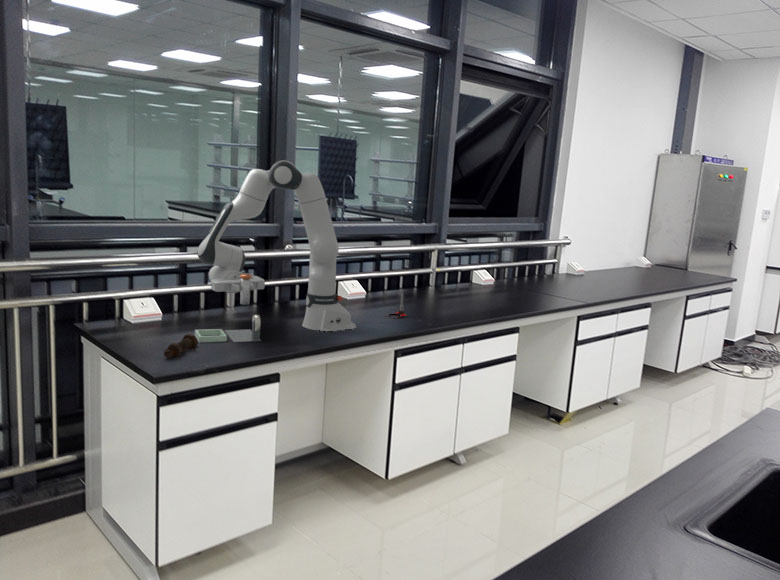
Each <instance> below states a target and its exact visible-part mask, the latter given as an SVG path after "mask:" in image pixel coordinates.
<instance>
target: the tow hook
mask: <svg viewBox="0 0 780 580" xmlns="http://www.w3.org/2000/svg"><path fill="white" fill-rule="evenodd" d="M395 313H397V314H401V315H400V316H408V315H407V314H406V313H405V311H404V289H403V288H402V289H401V293H400V305H399V310H398V311H396V312H395Z"/></svg>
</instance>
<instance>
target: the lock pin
mask: <svg viewBox="0 0 780 580" xmlns="http://www.w3.org/2000/svg"><path fill="white" fill-rule="evenodd" d="M240 278H241V286H242V291H240V299H239V301H240V302H239V304H240V305H244V306H245V305H247V306H248V305H250V302H251V301H250V300H251V299H250V297H251V290H250V278H251V275H250V274H241V275H240Z"/></svg>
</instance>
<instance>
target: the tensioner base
mask: <svg viewBox="0 0 780 580" xmlns="http://www.w3.org/2000/svg"><path fill="white" fill-rule="evenodd" d="M251 323H252V325H251V329H250V328H249V329H228V330H225V329H224V330H223V332H224V333H225V334H226V335H227V337H229V338H230V340H232V342H233V343H238V342H240V343H242V342H259V341H260V342H261V341H262V340H261V338H260V337H261V326H262V325H261V324H262V323H261V316H260V315H259V314H253V315H252V320H251Z"/></svg>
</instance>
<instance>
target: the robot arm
mask: <svg viewBox="0 0 780 580" xmlns="http://www.w3.org/2000/svg"><path fill="white" fill-rule="evenodd" d="M276 188H278V189H280V190H293V191H294V193H295V194H296V198H297V201H298V202H297V203H298V205H299V209H300V213H301V217H302V222H303V224H304V228H305V232H306V236H307V240H308V244H309V248H310V250H309V267H308V268H309V269H308V270H309V271H308V283H307V284H308V285H307V286H308V288H307V292H306V297H305V298H306V299H305V306H306V308H305V315H304V317H303V318H304V319H303V321H302V324H301V326H302V327H303V328H305V329H307V330H312V331H319V330H320V332H323V331H326V332H325V333H328V332H327V331H333V332H338V331H337V330H342V331H346V330H345V329H352V330H354V329H353V328H356V329H357V325H356V324H355V323H354V322H352V317H351V313H350V312H349V311H348V310H347V309H346V308H345V307H344V306H343V305H342V304H340V302H342V301H343V300H344V299H343V296H342V295H337V294H336V280H337V257H338V254H339V244H338V240H337V235H336V232H335V227H334V224H333V220H332V218H331V217H332V216H331V214H330V213H331V212H330V208H329V205H328V201H327V197H326V195H325V190H324V188H323V186H322V183H321V180H320V178H319V176H318V175H317V174H316V173H314V172H304V173H303V172H301V171H299V170H298V169H297V167H296V166H295V164H294V163H292V162H291V161H288V160H279V161H276V162H275V163H273V164H272V166H271V168H270V169H268V170H265V169H260V168H253V169H251V170H249V172H248V174H247V175H246V177H245V178H244V180H243V183H242V185H241V187H240V189H239V192H238V194H237V196H236V197H235V198H234V199H233V200H232V201H229V202H227V203H226V204H225V205H224V206H223V208H222V209H221V210H220V212H219V213H218V214H217V217H216V219H215V220H214V222H213V223H212V226H211V227H210V228H209V231H208V232H207V234H206V236H205V237H204V238H203V240H201V242H200V244H199V245H198V248H197V252H196V255H197V257H198V258H199V261H200V262H201V263H202V264H203V265H208V266H209V265H210V266H212V267H211V268H210V269H209V271H208V278H209V282H207V284H206V285H208V286H211V287H210V288H211V290H212V291H214V292H219V293H220V292H227V293H228V294H236V293H241V291H242V286H241V278H240V275H241V274H250V275H251V278H250V291H255V290H264V289H265V285H266V284H265V283H266V281H265V279H264V278H261V277H260V276H257V275H255V274H254V273H253V272H243V270H244V268H245V265H246V264H245V263H246V255H245V253H244V250H243V248H242V247H240V246H236V245H233V244H231V243H230V244H228V243H227V242H226V243H225V242H222V241H219V240H220V239H221V238H222V235H223V233H224V232H225V230H226V228H227V226H229V224H230V223H232V222H233V221H234V222H235V221H237V220H246V219H247V220H248V219H254V218H256V217H258V216H260V215H261V214H262V211H263V210H264V208H265V207H266V203H267V200H268V199H269V196H270V194H271V192H272V191H273V189H276Z"/></svg>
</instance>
